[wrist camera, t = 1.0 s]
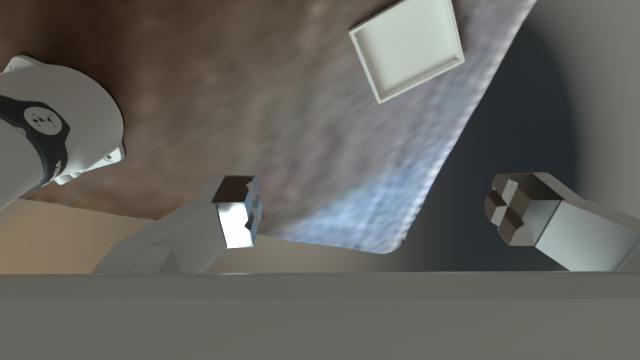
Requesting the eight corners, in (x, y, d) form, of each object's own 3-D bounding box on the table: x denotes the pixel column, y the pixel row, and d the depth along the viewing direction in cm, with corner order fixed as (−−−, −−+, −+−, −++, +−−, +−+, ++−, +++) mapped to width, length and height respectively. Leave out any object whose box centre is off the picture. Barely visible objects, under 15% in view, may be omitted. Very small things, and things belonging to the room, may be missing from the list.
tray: (375, 99, 45) (379, 104, 43) (347, 30, 40) (349, 32, 37) (457, 59, 42) (464, 62, 40) (438, -22, 37) (445, -23, 35)
